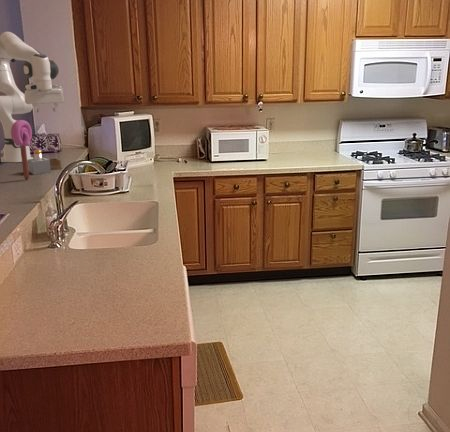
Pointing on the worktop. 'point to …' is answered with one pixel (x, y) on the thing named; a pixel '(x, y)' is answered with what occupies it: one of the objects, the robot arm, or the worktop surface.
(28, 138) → the lollipop
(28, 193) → the worktop surface
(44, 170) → the socket
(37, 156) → the pin
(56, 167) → the mount
